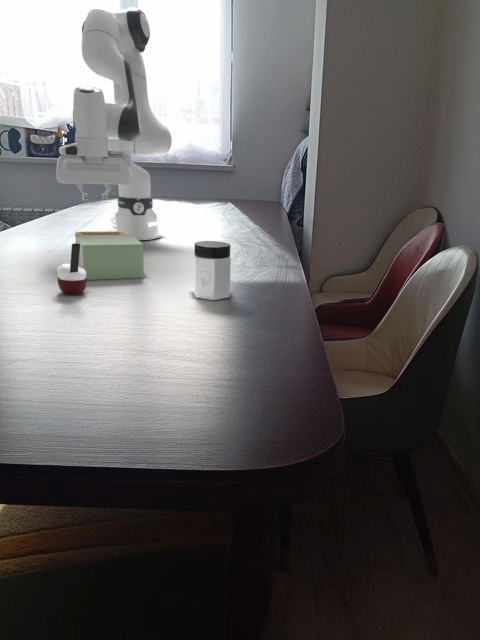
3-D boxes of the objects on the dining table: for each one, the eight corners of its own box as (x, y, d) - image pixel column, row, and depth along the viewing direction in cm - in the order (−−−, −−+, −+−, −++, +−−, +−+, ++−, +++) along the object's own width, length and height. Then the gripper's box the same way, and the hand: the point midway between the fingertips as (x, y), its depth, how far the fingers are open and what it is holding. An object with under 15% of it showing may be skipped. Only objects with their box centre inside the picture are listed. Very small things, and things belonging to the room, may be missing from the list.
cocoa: (61, 287, 119) (56, 235, 115) (89, 287, 120) (86, 236, 116) (54, 299, 110) (49, 243, 106) (85, 299, 112) (81, 243, 107)
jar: (186, 296, 118) (186, 244, 113) (201, 288, 125) (201, 239, 121) (222, 302, 116) (224, 248, 111) (235, 293, 123) (237, 243, 118)
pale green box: (78, 267, 139) (76, 235, 136) (133, 265, 145) (132, 234, 142) (84, 280, 127) (82, 245, 123) (144, 277, 132) (143, 244, 129)
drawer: (75, 252, 152) (73, 229, 150) (121, 251, 158) (120, 228, 155) (81, 265, 137) (79, 239, 135) (132, 263, 143) (131, 239, 140)
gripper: (127, 151, 153) (129, 199, 158) (53, 147, 145) (57, 198, 150) (131, 152, 147) (133, 201, 152) (54, 148, 139) (59, 200, 144)
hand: (95, 200), depth 151 cm, fingers open, 4 cm apart
